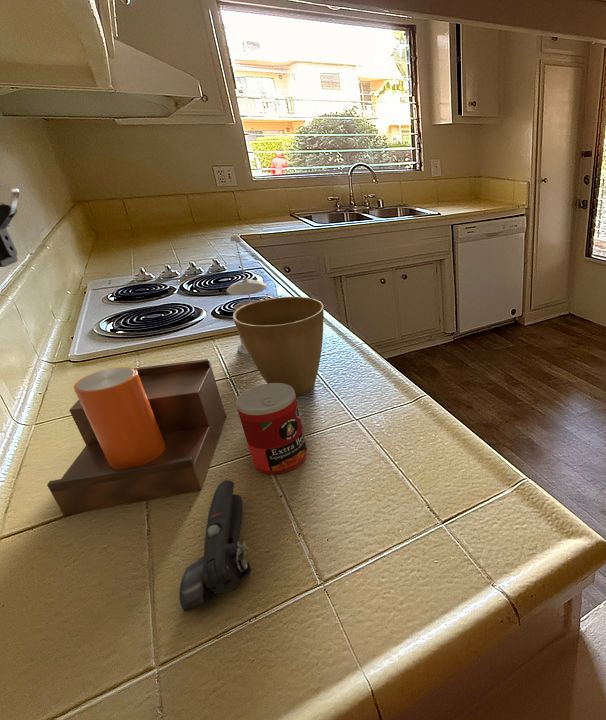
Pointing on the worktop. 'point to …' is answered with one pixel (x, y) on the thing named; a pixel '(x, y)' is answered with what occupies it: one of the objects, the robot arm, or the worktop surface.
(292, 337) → the plant pot
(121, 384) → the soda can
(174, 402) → the step shelf
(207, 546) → the can opener
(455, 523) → the worktop surface
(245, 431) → the canned food
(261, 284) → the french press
